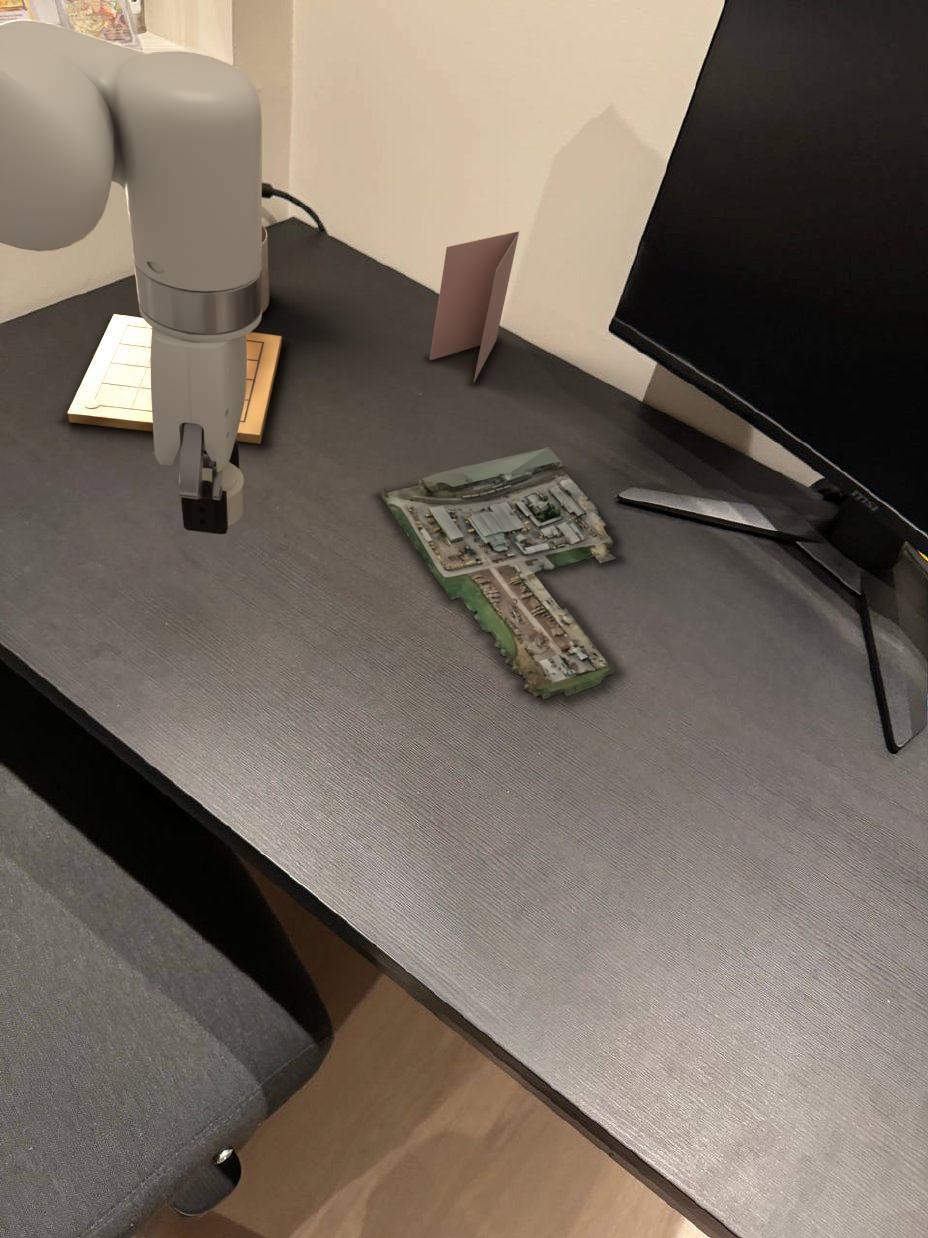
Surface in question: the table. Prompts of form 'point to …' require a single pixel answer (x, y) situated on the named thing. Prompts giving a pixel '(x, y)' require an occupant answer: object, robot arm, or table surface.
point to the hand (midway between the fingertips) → (212, 503)
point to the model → (512, 558)
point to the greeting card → (473, 296)
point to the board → (124, 381)
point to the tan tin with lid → (229, 490)
